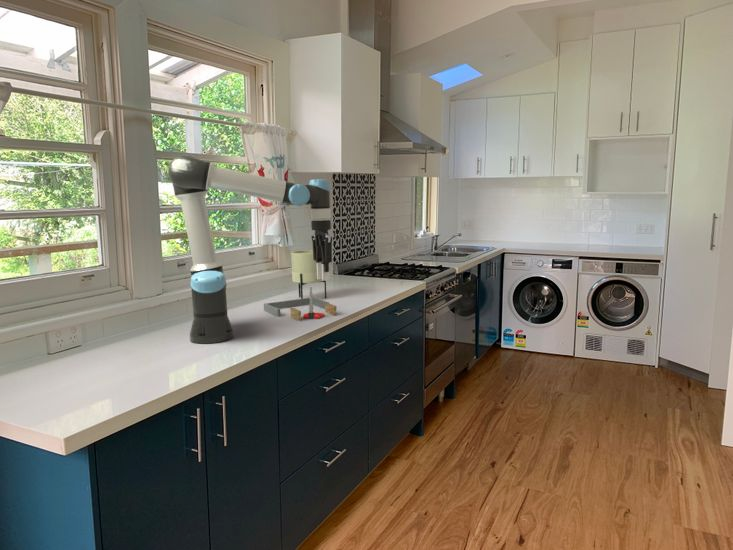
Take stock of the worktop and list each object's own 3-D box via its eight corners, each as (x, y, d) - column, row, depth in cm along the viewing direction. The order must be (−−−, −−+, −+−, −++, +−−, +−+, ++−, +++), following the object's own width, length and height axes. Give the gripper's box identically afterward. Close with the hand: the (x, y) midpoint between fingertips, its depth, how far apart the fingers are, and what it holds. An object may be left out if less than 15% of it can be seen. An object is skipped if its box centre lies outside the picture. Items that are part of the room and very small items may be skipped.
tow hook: (306, 315, 238) (300, 319, 228) (306, 284, 236) (300, 287, 227) (326, 315, 236) (321, 319, 227) (325, 284, 235) (320, 287, 226)
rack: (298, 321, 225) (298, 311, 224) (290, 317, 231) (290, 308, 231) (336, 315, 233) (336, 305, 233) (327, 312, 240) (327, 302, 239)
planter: (287, 302, 266) (284, 253, 262) (301, 295, 280) (299, 249, 277) (316, 303, 261) (314, 253, 257) (329, 297, 275) (328, 250, 272)
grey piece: (278, 316, 234) (277, 309, 233) (264, 310, 247) (263, 303, 247) (329, 309, 246) (329, 302, 246) (313, 303, 260) (313, 297, 259)
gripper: (339, 219, 213) (341, 281, 216) (319, 218, 227) (322, 276, 230) (322, 220, 209) (324, 283, 212) (302, 219, 223) (305, 278, 227)
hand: (323, 279), depth 221 cm, fingers open, 4 cm apart
